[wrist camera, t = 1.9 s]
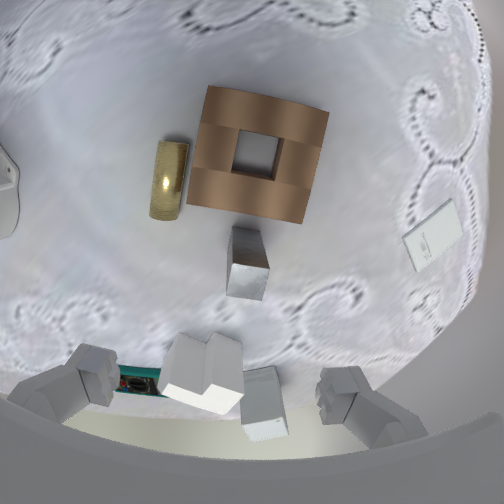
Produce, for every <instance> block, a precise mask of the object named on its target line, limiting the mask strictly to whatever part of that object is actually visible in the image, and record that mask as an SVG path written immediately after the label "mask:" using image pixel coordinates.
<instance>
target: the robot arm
mask: <svg viewBox="0 0 504 504" xmlns="http://www.w3.org/2000/svg"><path fill="white" fill-rule="evenodd" d="M18 181H19V170H18V168H17V166H16V165H15V164H14V163H13V161H12V160H11V159H10V157H9V156H8V155H7V154H6V152H5V151H4V150H3V148H2V147H1V146H0V239H3V238H6V237H8V236H10V235H11V234H12V232H13V231H14V229H15V227H16V224H17V220H18V215H19V200H18V191H17V187H18ZM116 360H117V355H116V352H115V351H114V350H110V349H106V348H101V347H97V346H92V345H88V344H84V343H82V344H80V345H79V346H78V348H77V349H76V350H75V352H74V353H73V354H72V356H71V357H70V358H69V360H68V361H67V362H66V364H65V365H59V366H57V367H55V368H52V369H50V370H48V371H45V372H43V373H40V374H38V375H36V376H33V377H31V378H28V379H26V380H24V381H21V382H19V383H18V384H17V386H16V387H15V388H14V390H13V391H12V392H11V393H10V395H9V396H8V398H7V399H5V398H3V397H1V396H0V504H504V416H503V415H501V414H498V413H495V412H488V413H486V414H483V415H481V416H479V417H477V418H474V419H472V420H469V421H467V422H464V423H462V424H459V425H457V426H454V427H451V428H449V429H446V430H443V431H441V432H437V433H434V434H431V435H429V434H428V432H427V431H426V429H425V427H424V425H423V423H422V422H421V420H420V418H419V417H418V416H417V415H416V414H414V413H412V412H410V411H409V410H407V409H405V408H404V407H402V406H400V405H399V404H397V403H395V402H394V401H392V400H390V399H389V398H387V397H385V396H384V395H382V394H380V393H379V392H377V391H373V390H372V389H371V387H370V385H369V383H368V381H367V379H366V377H365V375H364V373H363V372H362V370H361V368H360V367H359V366H348V367H332V368H323V369H322V371H321V374H320V377H321V381H320V382H319V383H317V387H316V394H315V397H316V403H317V405H318V406H319V407H320V408H321V410H320V417H321V420H322V423H323V425H329V424H343V425H344V426H345V427H346V428H347V429H348V430H349V431H351V433H353V434H354V435H355V436H356V437H357V438H358V439H359V440H360V441H361V442H362V443H364V444H365V445H366V446H367V447H368V448H369V449H370V450H366V451H360V452H355V453H348V454H341V455H334V456H325V457H315V458H304V459H285V460H238V459H220V458H207V457H198V456H189V455H182V454H175V453H168V452H162V451H157V450H151V449H146V448H141V447H137V446H132V445H128V444H124V443H120V442H116V441H112V440H108V439H105V438H101V437H98V436H95V435H91V434H88V433H85V432H82V431H79V430H76V429H73V428H70V427H68V426H65V425H62V424H61V423H63V422H64V421H66V420H67V419H69V418H70V417H72V416H73V415H74V414H76V413H77V412H79V411H80V410H82V409H83V408H84V407H86V406H87V405H89V404H90V403H93V404H98V405H102V406H106V407H109V405H110V403H111V400H112V398H113V392H112V391H113V390H115V389H117V387H118V385H119V382H120V368H119V366H118V365H117V364H116V363H115V362H116Z"/></svg>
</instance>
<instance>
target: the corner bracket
mask: <svg viewBox="0 0 504 504" xmlns="http://www.w3.org/2000/svg"><path fill="white" fill-rule="evenodd" d="M157 388H158V390H159V391H160V393H161V394H162V395H164V396H167V397H170V398H172V399H175V400H178V401H181V402H183V403H186V404H189V405H192V406H195V407H198V408H201V409H204V410H208V411H211V412H214V413H218V414H221V415H225V414H226V413H227V412H228V411H229V410H230V409H231V408H232V407H233V406H234V405H235V404H236V403H237V402H238V401H239V400H240V399H241V398H242V397H243V396H244V378H243V362H242V344H241V343H240V342H238V341H235V340H233V339H231V338H228V337H226V336H223V335H221V334H219V333H216V332H214V333H213V335H212V336H211V338H210V339H209V341H208V342H207V344H205V343H203V342H200V341H198V340H195V339H193V338H191V337H188V336H186V335H184V334H182V333H178V335H177V337H176V338H175V340H174V342H173V344H172V345H171V347H170V349H169V351H168V352H167V354H166V356H165V358H164V360H163V364H162V368H161V372H160V377H159V381H158V385H157Z"/></svg>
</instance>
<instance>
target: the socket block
mask: <svg viewBox="0 0 504 504" xmlns="http://www.w3.org/2000/svg"><path fill="white" fill-rule="evenodd" d="M328 117H329V112H326V111H323V110H319V109H316V108H313V107H309V106H306V105H302V104H298V103H294V102H290V101H286V100H282V99H278V98H274V97H270V96H265V95H260V94H256V93H251V92H245V91H240V90H235V89H229V88H222V87H216V86H209V85H208V89H207V93H206V98H205V102H204V107H203V112H202V116H201V121H200V126H199V131H198V137H197V142H196V147H195V153H194V158H193V164H192V170H191V176H190V182H189V189H188V195H187V202H186V204H191V205H197V206H203V207H209V208H215V209H221V210H227V211H232V212H238V213H244V214H249V215H255V216H260V217H266V218H271V219H276V220H282V221H287V222H292V223H297V224H302V222H303V218H304V215H305V211H306V207H307V203H308V199H309V196H310V192H311V188H312V184H313V180H314V176H315V172H316V168H317V164H318V160H319V156H320V151H321V147H322V143H323V139H324V135H325V130H326V126H327V122H328ZM239 130H244V131H249V132H254V133H259V134H264V135H268V136H273V137H277V138H279V142H278V147H277V151H276V155H275V160H274V164H273V169H272V173H271V177H270V176H265V175H260V174H255V173H250V172H244V171H239V170H234V169H231V168H232V163H233V159H234V154H235V149H236V144H237V139H238V134H239Z"/></svg>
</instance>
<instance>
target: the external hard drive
mask: <svg viewBox="0 0 504 504" xmlns="http://www.w3.org/2000/svg"><path fill="white" fill-rule="evenodd" d="M462 235H463V233H462V229H461V225H460V221H459V218H458V214H457V210H456V207H455V204H454V201H453V200H451V199H449V200H448V201H446V202H445V203H444V204H443V205H442V206H440V207H439V208H438V209H437V210H436V211H434V212H433V213H432V214H431V215H429V216H428V217H427V218H426V219H424V220H423V221H422V222H421V223H419V224H418V225H417V226H415V227H414V228H413V229H412V230H410V231H409V232H408V233H406V234H405V235H404V236H402V240H403V242H404V245H405V247H406V249H407V252H408V253H409V256H410V259H411V262H412V264H413V267H414V270H415V271H416V272H417V273H418V272H419V271H421V270H422V269H423V268H424V267H426V266H427V265H428V264H429V263H431V262H432V261H433V260H434V259H436V258H437V257H438V256H439V255H441V254H442V253H443V252H444V251H445V250H446V249H448V248H449V247H450V246H451V245H452V244H453V243H455V242H456V241H457V240H458V239H459V238H460V237H461V236H462Z"/></svg>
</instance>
